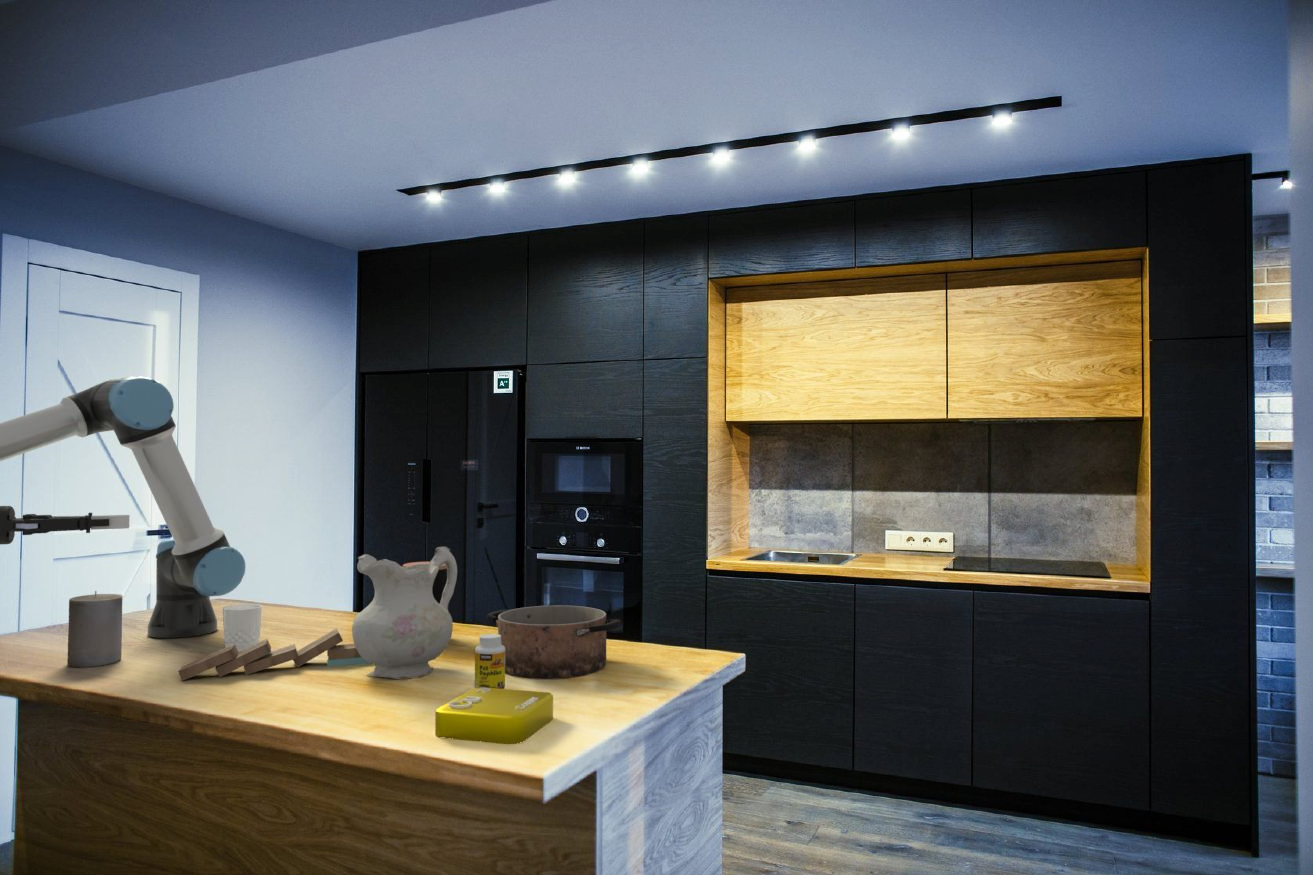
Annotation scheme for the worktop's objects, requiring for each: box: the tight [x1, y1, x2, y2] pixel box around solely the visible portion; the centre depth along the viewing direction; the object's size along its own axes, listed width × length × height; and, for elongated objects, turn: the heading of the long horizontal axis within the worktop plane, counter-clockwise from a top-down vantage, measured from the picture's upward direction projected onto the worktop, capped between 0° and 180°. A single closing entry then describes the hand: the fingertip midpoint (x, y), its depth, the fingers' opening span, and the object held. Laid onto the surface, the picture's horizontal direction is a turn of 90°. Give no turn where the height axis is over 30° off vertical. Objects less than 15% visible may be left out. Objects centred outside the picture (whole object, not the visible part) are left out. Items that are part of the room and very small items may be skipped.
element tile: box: [434, 687, 554, 745], centre depth 139 cm, size 15×15×5 cm
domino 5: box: [326, 643, 361, 660], centre depth 184 cm, size 5×2×10 cm
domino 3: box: [243, 643, 298, 676], centre depth 177 cm, size 5×2×10 cm
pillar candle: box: [67, 590, 124, 668], centre depth 183 cm, size 10×10×15 cm
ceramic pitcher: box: [351, 545, 458, 680], centre depth 176 cm, size 22×20×25 cm
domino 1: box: [177, 644, 238, 682], centre depth 171 cm, size 5×2×10 cm
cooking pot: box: [486, 604, 622, 680], centre depth 180 cm, size 30×22×11 cm
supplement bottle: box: [474, 633, 506, 689], centre depth 160 cm, size 6×6×10 cm
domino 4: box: [292, 628, 344, 668], centre depth 182 cm, size 5×2×10 cm
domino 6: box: [326, 657, 373, 667], centre depth 183 cm, size 5×2×10 cm
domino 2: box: [214, 638, 272, 678], centre depth 174 cm, size 5×2×10 cm
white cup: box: [222, 603, 263, 652], centre depth 193 cm, size 8×8×10 cm
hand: (128, 521), depth 178 cm, fingers closed
